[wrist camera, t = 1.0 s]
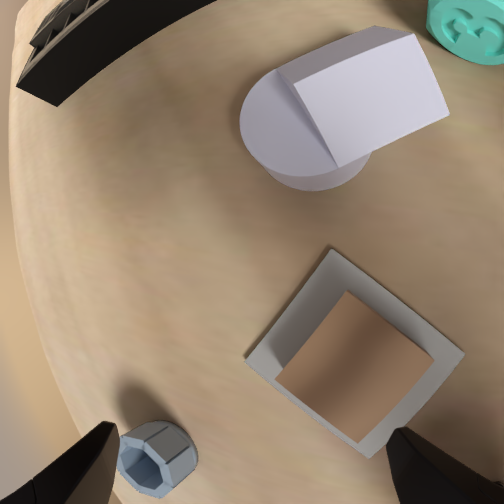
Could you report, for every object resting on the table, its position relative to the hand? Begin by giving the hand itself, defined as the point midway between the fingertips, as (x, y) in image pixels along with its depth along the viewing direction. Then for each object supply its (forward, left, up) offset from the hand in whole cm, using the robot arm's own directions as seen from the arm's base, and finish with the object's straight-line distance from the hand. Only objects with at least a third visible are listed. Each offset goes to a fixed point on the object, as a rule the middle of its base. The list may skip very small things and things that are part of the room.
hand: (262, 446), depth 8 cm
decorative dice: (+4, -30, -13) cm, 33 cm away
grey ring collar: (+4, +16, -13) cm, 21 cm away
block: (-2, -1, -13) cm, 13 cm away
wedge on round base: (+9, -14, -13) cm, 21 cm away
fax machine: (+44, -30, -14) cm, 55 cm away
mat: (-2, -1, -13) cm, 13 cm away
